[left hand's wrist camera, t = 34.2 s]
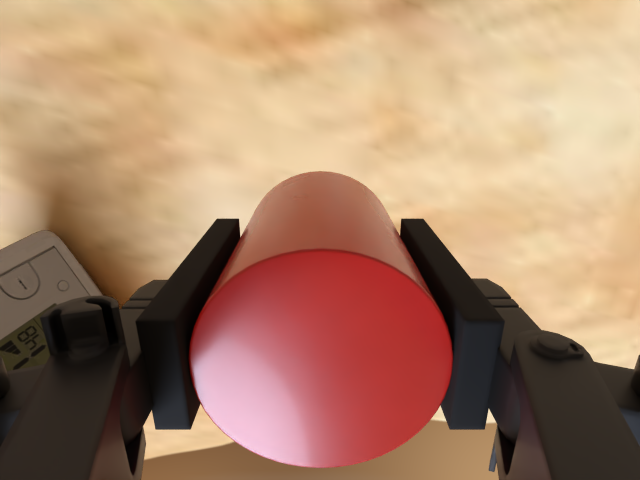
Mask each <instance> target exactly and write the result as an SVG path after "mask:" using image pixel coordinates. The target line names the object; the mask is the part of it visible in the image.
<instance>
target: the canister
mask: <svg viewBox="0 0 640 480" xmlns="http://www.w3.org/2000/svg"><path fill="white" fill-rule="evenodd" d="M452 366H453V348H452V340H451V336H450V332H449V329H448V325H447V323H446V321H445V319H444V317H443V314H442V312H441V310H440V308H439V307H438V305H437V303H436V301H435V299H434V297H433V296H432V294H431V292H430V290H429V288H428V286H427V285H426V283H425V281H424V279H423V277H422V275H421V274H420V272H419V270H418V268H417V266H416V264H415V263H414V261H413V259H412V257H411V255H410V253H409V252H408V250H407V248H406V246H405V244H404V243H403V241H402V239H401V237H400V235H399V233H398V232H397V230H396V228H395V226H394V224H393V222H392V221H391V219H390V217H389V215H388V213H387V211H386V210H385V208H384V206H383V205H382V203H381V201H380V200H379V199H378V198H377V196H376V195H375V194H374V193H373V192H372V191H371V190H370V189H368V188H367V187H366V186H365V185H363V184H362V183H360V182H359V181H357V180H355V179H353V178H351V177H348V176H345V175H342V174H338V173H333V172H323V171H318V172H308V173H303V174H299V175H296V176H293V177H291V178H289V179H287V180H285V181H283V182H281V183H280V184H278V185H277V186H275V187H274V188H273V189H272V190H271V191H269V192H268V193H267V194H266V196H265V197H264V198H263V199H262V200H261V202H260V203H259V205H258V207H257V208H256V210H255V212H254V214H253V216H252V217H251V219H250V221H249V223H248V225H247V227H246V229H245V230H244V232H243V234H242V236H241V238H240V240H239V242H238V243H237V245H236V247H235V249H234V251H233V253H232V255H231V256H230V258H229V260H228V262H227V264H226V266H225V268H224V269H223V271H222V273H221V275H220V277H219V279H218V281H217V282H216V284H215V286H214V288H213V290H212V292H211V293H210V295H209V297H208V299H207V301H206V303H205V305H204V306H203V308H202V310H201V312H200V314H199V316H198V319H197V321H196V323H195V325H194V328H193V332H192V336H191V340H190V347H189V369H190V375H191V379H192V384H193V387H194V390H195V392H196V395H197V397H198V400H199V401H200V403H201V405H202V407H203V408H204V410H205V412H206V413H207V414H208V416H209V417H210V418H211V420H212V421H213V422H214V423H215V424H216V425H217V426H218V427H219V428H220V429H221V430H222V431H223V432H224V433H225V434H226V435H227V436H229V437H230V438H231V439H232V440H234V441H235V442H236V443H238V444H240V445H241V446H243V447H244V448H246V449H248V450H250V451H252V452H254V453H256V454H258V455H260V456H262V457H265V458H268V459H271V460H274V461H277V462H281V463H285V464H289V465H295V466H301V467H313V468H329V467H340V466H347V465H353V464H357V463H361V462H365V461H368V460H371V459H374V458H377V457H379V456H382V455H384V454H386V453H388V452H390V451H392V450H394V449H396V448H397V447H399V446H401V445H402V444H404V443H405V442H407V441H408V440H409V439H411V438H412V437H413V436H415V435H416V434H417V433H418V432H419V431H420V430H421V429H422V428H423V427H424V426H425V425H426V424H427V423H428V422H429V421H430V419H431V418H432V417H433V415H434V414H435V413H436V412H437V410H438V408H439V406H440V405H441V403H442V401H443V399H444V397H445V395H446V392H447V389H448V387H449V384H450V379H451V374H452Z"/></svg>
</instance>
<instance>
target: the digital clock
mask: <svg viewBox="0 0 640 480" xmlns="http://www.w3.org/2000/svg"><path fill="white" fill-rule="evenodd" d="M99 295H102V296H103V294H102V293H101V292H100V290H99V289H98V287H97V286H96V285H95V283H94V282H93V280H92V279H91V277H90V276H89V275H88V273H87V272H86V270H85V269H84V268H83V266H82V265H81V264H79V263H78V261H77V260H76V258H75V257H74V256H73V254H72V253H71V252H70V250H69V249H68V248H67V246H66V245H65V244H64V243H63V242H62V240H61V239H60V238H59V237H58V236H57V235H56V234H54V233H53V232H51V231H48V230H43V231H39V232H36V233H34V234H32V235H30V236H27V237H25V238H23V239H21V240H19V241H17V242H15V243H13V244H11V245H9V246H7V247H5V248H3V249H1V250H0V356H1V357H2V358H3V361H4V364H5V367H6V370H7V371H11V370H16V369H22V368H27V367H32V366H38V365H42V364H46V362H47V360H48V358H49V357H50V352H49V349H48V345H47V342H46V338H45V335H44V331H43V328H42V324H41V321H40V317H41V316H42V315H43V314H44V313H45V312H46V311H47V310H49V309H51V308H52V307H54V306H56V305H58V304H60V303H63V302H66V301H69V300H72V299H75V298H80V297H86V296H99Z"/></svg>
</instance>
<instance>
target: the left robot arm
mask: <svg viewBox="0 0 640 480" xmlns="http://www.w3.org/2000/svg"><path fill="white" fill-rule="evenodd" d="M400 237H401V239H402V241H403V243H404V244H405V246H406V248H407V250H408V252H409V253H410V255H411V257H412V259H413V261H414V263H415V264H416V266H417V268H418V270H419V272H420V274H421V275H422V277H423V279H424V281H425V283H426V285H427V286H428V288H429V290H430V292H431V294H432V296H433V297H434V299H435V301H436V303H437V305H438V307H439V308H440V310H441V312H442V314H443V317H444V319H445V321H446V323H447V325H448V329H449V332H450V336H451V340H452V348H453V366H452V374H451V379H450V384H449V387H448V389H447V392H446V395H445V397H444V399H443V401H442V403H441V408H442V410H443V413H444V416H445V418H446V421H447V423H448V426H449V428H450V429H485V425H486V419H487V414H488V409H490V411H491V413H492V415H493V417H494V419H495V421H496V422H497V429H496V434H495V439H494V444H493V449H492V454H491V459H490V465H489V471H492V472H494V471H495V466H496V463H497V468H498V475H499V480H640V355H639V357H638V360H637V363H636V366H635V369H628V368H623V367H618V366H612V365H607V364H602V363H597V362H594V361H593V359H592V358H591V356H590V354H589V353H588V352H587V351H586V350H585V349H584V347H583V346H581V345H580V344H578V343H577V342H575V341H573V340H572V339H570V338H567V337H565V336H562V335H560V334H557V333H553V332H549V331H544V330H541V329H540V328H539V327H538V326H537V325H536V324H535V323H534V322H533V320H532V319H531V318H530V317H529V316H528V315H527V314H526V313H525V312H524V311H523V310H522V309H521V308H519V305H518V304H517V303H516V302H515V301H514V300H513V299H511V297H510V295H509V294H508V293H507V292H506V291H505V290H504V289H503V288H502V287H501V286H499V285H497V284H495V283H493V282H492V281H490V280H488V279H471V278H470V277H469V275H468V274H467V273H466V272H465V270H464V269H463V268H462V267H461V265H460V264H459V263H458V262H457V260H456V259H455V258H454V257H453V255H452V254H451V253H450V252H449V250H448V249H447V248H446V247H445V245H444V244H443V243H442V242H441V240H440V239H439V238H438V237H437V235H436V234H435V233H434V232H433V230H432V229H431V228H430V227H429V225H428V224H427V223H426V222H425V220H424V219H401V231H400ZM239 240H240V227H239V219H217V220H216V221H215V222H214V223H213V225H212V226H211V227H210V228H209V230H208V231H207V232H206V233H205V235H204V236H203V237H202V238H201V240H200V241H199V242H198V243H197V245H196V246H195V247H194V248H193V250H192V251H191V252H190V253H189V255H188V256H187V257H186V258H185V260H184V261H183V262H182V263H181V265H180V266H179V267H178V268H177V270H176V271H175V272H174V273H173V275H172V276H171V277H170V278H169V280H153V281H151V282H149V283H148V284H146V285H144V286H142V287H141V288H139V289H138V290H137V291H136V292H135V293H134V294H133V295H132V296H131V298H130V300H129V301H127V302H126V303H125V304H124V305H123V306H122V309H120V310H119V305H118V301H117V300H115V299H114V298H112V297H108V296H102V295H99V296H86V297H80V298H75V299H72V300H69V301H66V302H63V303H60V304H58V305H56V306H54V307H52V308H51V309H49V310H47V311H46V312H45V313H44V314H43V315H42V316H41V317H40V321H41V324H42V328H43V331H44V335H45V338H46V342H47V345H48V349H49V352H50V357H49V358H48V360H47V362H46V364H42V365H38V366H32V367H27V368H22V369H16V370H11V371H7V370H6V367H5V364H4V361H3V358H2V357H1V356H0V480H141V476H142V469H143V462H144V454H145V447H146V441H145V434H144V429H143V425H144V423H145V421H146V419H147V418H148V416H149V414H150V412H151V410H152V413H153V418H154V423H155V429H191V427H192V424H193V422H194V419H195V416H196V414H197V411H198V408H199V406H200V401H199V400H198V397H197V395H196V392H195V390H194V387H193V384H192V379H191V375H190V369H189V347H190V340H191V336H192V332H193V328H194V325H195V323H196V321H197V319H198V316H199V314H200V312H201V310H202V308H203V306H204V305H205V303H206V301H207V299H208V297H209V295H210V293H211V292H212V290H213V288H214V286H215V284H216V282H217V281H218V279H219V277H220V275H221V273H222V271H223V269H224V268H225V266H226V264H227V262H228V260H229V258H230V256H231V255H232V253H233V251H234V249H235V247H236V245H237V243H238V242H239Z"/></svg>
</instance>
